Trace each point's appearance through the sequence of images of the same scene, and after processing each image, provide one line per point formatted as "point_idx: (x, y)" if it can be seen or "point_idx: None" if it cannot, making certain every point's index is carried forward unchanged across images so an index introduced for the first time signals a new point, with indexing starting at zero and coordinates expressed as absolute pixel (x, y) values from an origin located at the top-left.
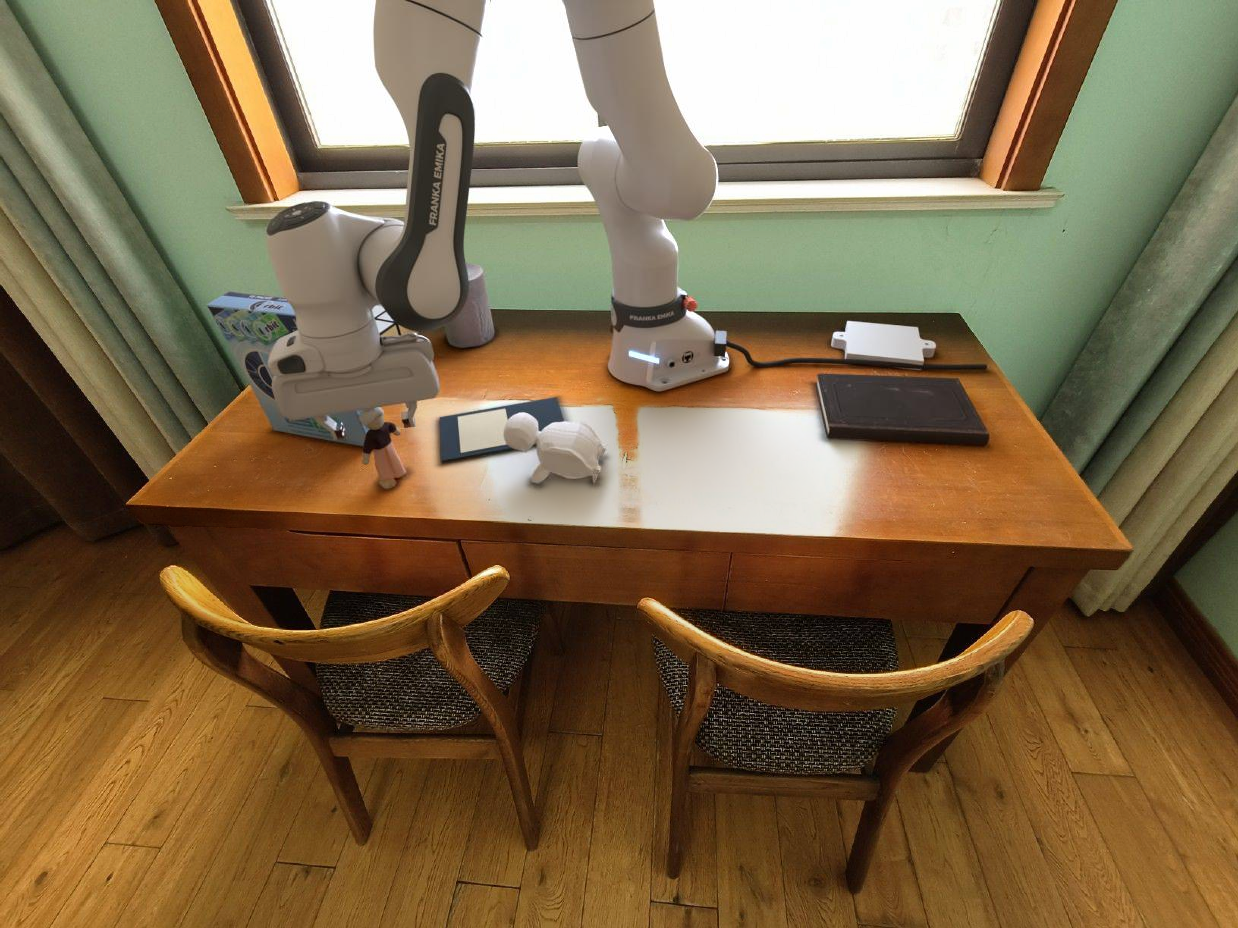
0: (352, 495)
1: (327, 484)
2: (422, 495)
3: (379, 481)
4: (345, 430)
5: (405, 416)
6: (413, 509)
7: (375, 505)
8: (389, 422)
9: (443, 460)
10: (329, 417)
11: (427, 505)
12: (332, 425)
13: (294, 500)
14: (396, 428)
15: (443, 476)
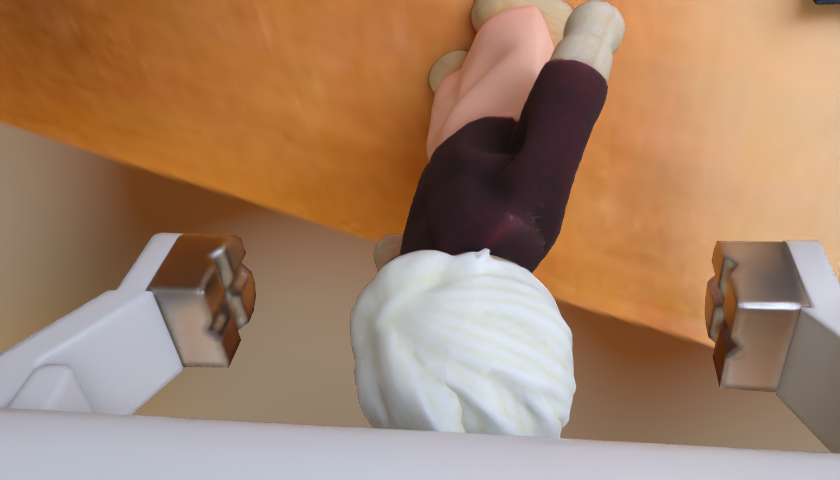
0: (309, 131)
1: (149, 15)
2: (651, 218)
3: (432, 89)
4: (232, 246)
5: (762, 362)
6: (603, 283)
7: None
8: (573, 159)
9: (829, 2)
10: (88, 333)
11: (666, 278)
12: (151, 362)
13: (41, 93)
14: (606, 81)
15: (786, 115)
